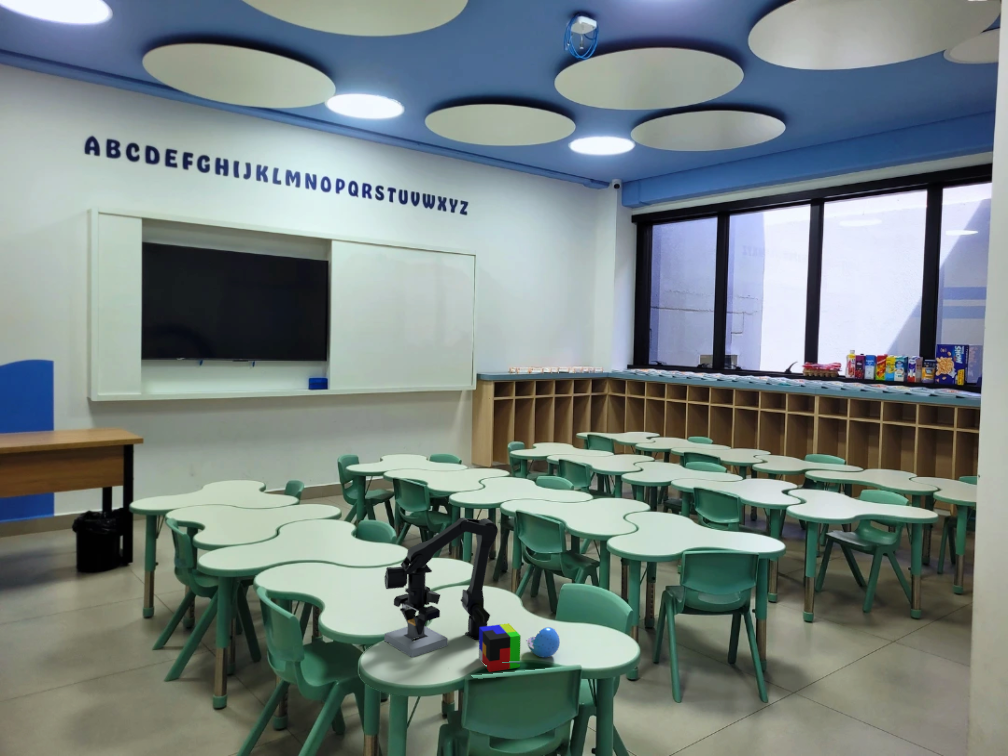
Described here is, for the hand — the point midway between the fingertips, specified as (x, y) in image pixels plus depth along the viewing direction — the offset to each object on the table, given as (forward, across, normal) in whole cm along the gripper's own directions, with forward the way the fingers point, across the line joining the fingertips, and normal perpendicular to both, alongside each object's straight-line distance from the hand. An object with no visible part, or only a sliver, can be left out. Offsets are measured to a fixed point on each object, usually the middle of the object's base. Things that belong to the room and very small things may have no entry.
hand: (416, 632), depth 232 cm
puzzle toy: (+4, -28, -12) cm, 31 cm away
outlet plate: (+4, 0, 0) cm, 4 cm away
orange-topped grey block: (+1, 0, 0) cm, 1 cm away
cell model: (+4, -33, -26) cm, 42 cm away
